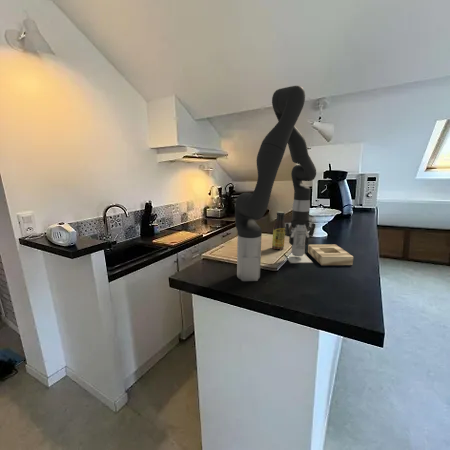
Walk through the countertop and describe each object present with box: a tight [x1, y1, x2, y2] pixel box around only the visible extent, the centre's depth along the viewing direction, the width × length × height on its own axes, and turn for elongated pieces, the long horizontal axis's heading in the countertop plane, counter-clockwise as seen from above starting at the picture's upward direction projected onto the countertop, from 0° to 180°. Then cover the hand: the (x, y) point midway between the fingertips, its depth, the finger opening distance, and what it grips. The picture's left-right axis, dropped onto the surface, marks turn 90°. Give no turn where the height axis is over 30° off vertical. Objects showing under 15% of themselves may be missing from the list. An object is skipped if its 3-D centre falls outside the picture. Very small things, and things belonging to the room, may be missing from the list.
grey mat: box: [287, 253, 314, 264], centre depth 124 cm, size 12×10×1 cm
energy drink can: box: [291, 225, 307, 256], centre depth 122 cm, size 6×6×15 cm
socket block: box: [307, 244, 354, 266], centre depth 124 cm, size 18×14×4 cm
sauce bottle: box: [271, 211, 286, 250], centre depth 136 cm, size 6×6×20 cm
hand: (298, 244), depth 122 cm, fingers closed on energy drink can, 6 cm apart
